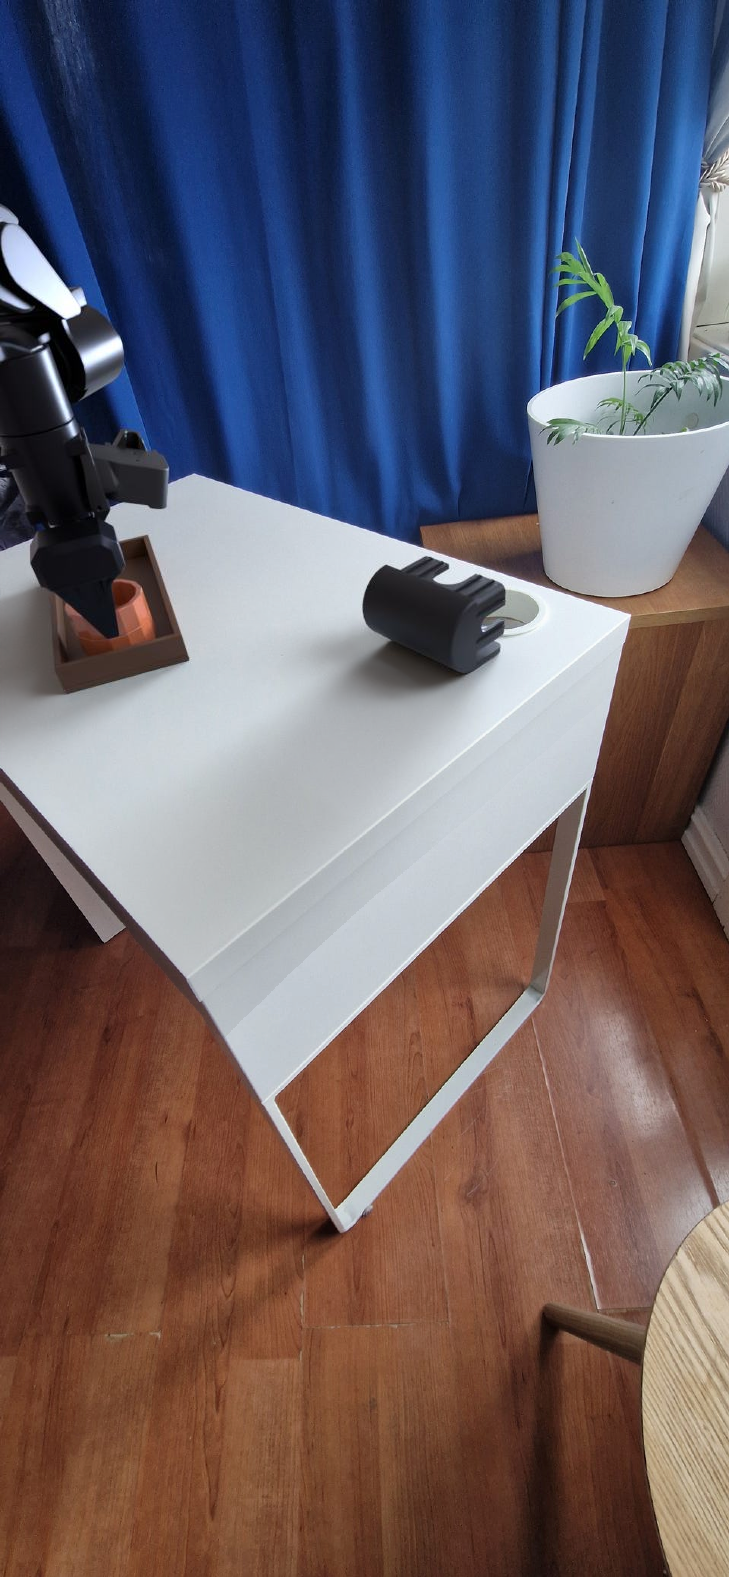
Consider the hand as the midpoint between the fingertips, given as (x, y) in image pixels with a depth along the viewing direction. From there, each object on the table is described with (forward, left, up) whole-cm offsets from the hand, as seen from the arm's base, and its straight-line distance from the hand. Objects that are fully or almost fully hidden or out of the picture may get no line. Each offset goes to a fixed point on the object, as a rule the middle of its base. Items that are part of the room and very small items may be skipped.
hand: (108, 612), depth 63 cm
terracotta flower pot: (0, 0, -4) cm, 4 cm away
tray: (+2, +7, -4) cm, 8 cm away
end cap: (+20, -21, -4) cm, 29 cm away
